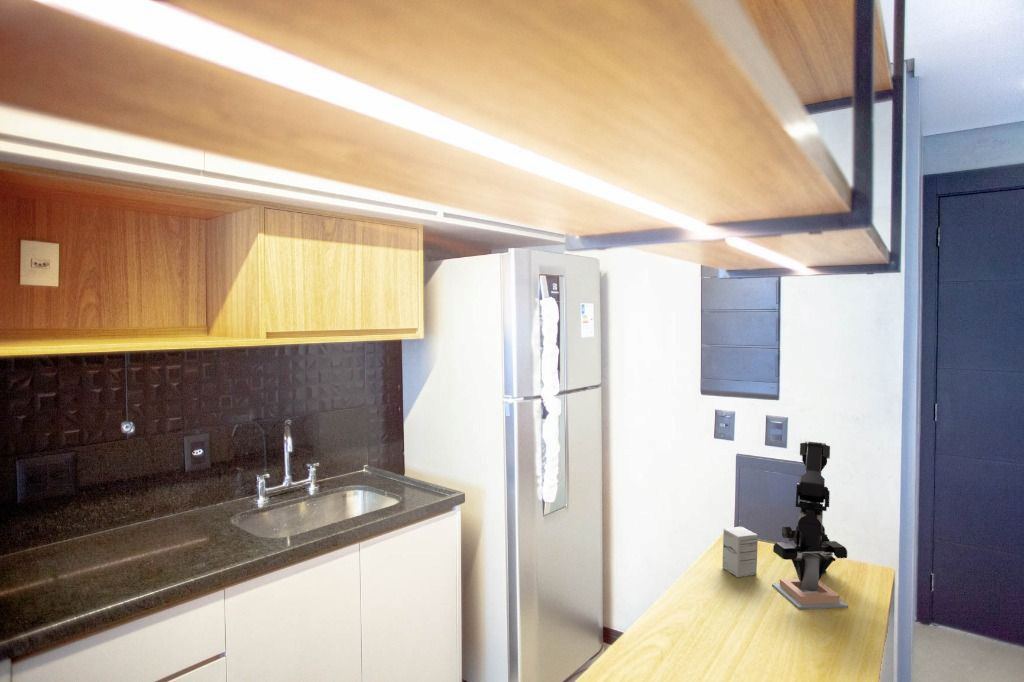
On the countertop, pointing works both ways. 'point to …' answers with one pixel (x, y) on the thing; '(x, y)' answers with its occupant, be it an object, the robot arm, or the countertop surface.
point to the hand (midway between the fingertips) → (809, 580)
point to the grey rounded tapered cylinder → (810, 572)
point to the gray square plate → (809, 595)
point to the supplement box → (740, 551)
